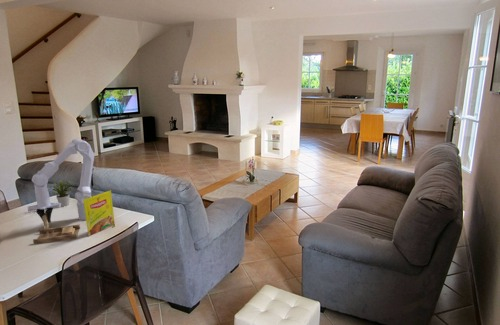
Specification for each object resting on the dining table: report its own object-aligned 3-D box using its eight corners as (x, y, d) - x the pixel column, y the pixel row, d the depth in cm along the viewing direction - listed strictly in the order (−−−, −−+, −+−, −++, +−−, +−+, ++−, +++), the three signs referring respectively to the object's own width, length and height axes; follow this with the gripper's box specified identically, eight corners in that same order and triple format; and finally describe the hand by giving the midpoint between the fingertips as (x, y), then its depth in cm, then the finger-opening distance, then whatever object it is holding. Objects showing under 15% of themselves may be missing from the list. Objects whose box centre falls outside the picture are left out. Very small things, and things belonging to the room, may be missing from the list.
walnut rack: (80, 229, 180) (79, 224, 179) (76, 240, 169) (75, 234, 168) (41, 234, 175) (39, 229, 174) (34, 246, 164) (33, 240, 163)
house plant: (64, 211, 204) (60, 184, 200) (44, 209, 207) (40, 183, 203) (81, 202, 217) (78, 177, 213) (62, 200, 220) (58, 175, 216)
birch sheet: (51, 225, 185) (49, 210, 182) (48, 230, 178) (45, 216, 176) (48, 225, 184) (45, 211, 182) (44, 231, 178) (42, 216, 176)
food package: (89, 238, 171) (83, 199, 165) (88, 238, 171) (82, 199, 166) (115, 226, 183) (111, 190, 178) (114, 226, 184) (109, 189, 179)
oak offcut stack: (75, 230, 177) (74, 225, 177) (72, 237, 170) (71, 232, 169) (63, 231, 176) (63, 227, 175) (60, 238, 168) (59, 234, 168)
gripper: (23, 201, 171) (28, 227, 174) (56, 198, 175) (61, 223, 178) (28, 196, 177) (32, 221, 181) (60, 193, 181) (63, 217, 185)
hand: (47, 222), depth 180 cm, fingers closed on birch sheet, 1 cm apart
